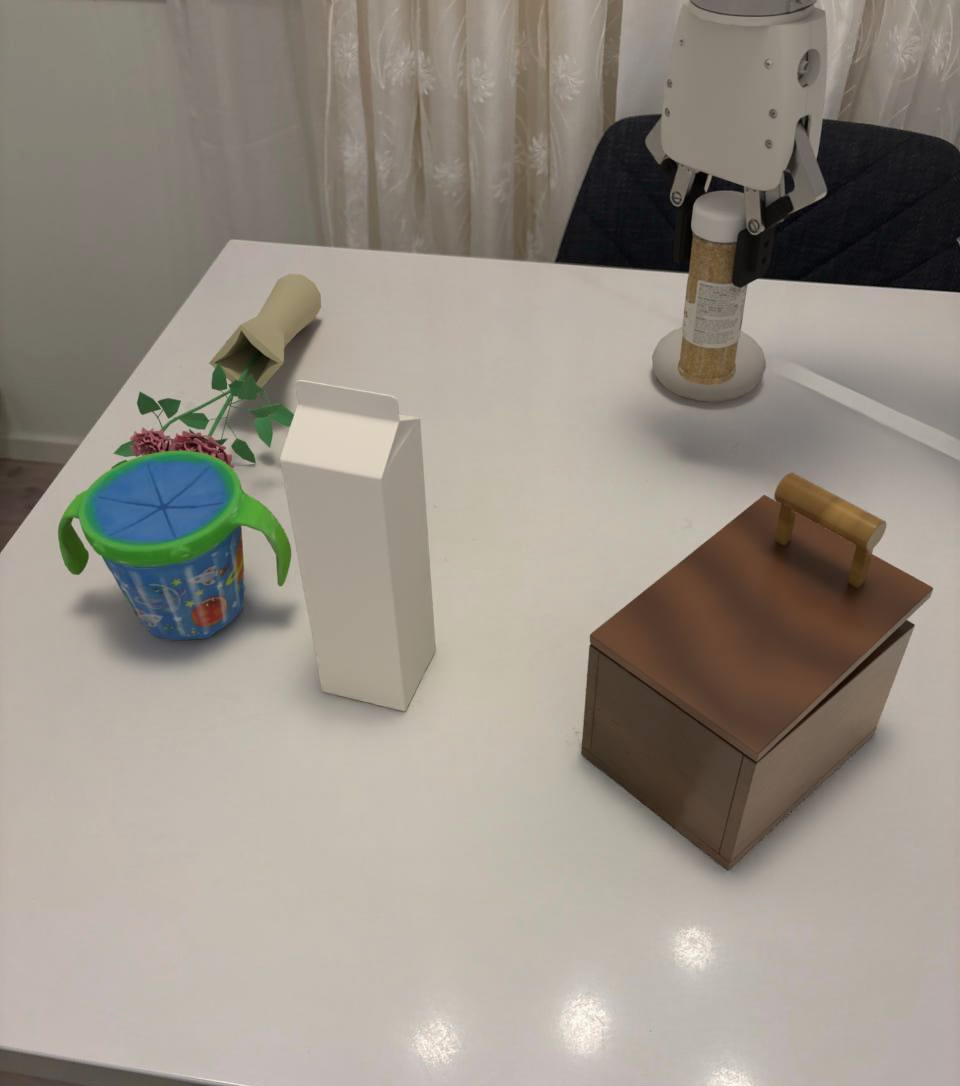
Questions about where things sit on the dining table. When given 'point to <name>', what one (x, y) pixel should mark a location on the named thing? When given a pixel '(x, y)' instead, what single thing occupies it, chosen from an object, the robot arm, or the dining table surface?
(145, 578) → the snack cup
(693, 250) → the sprinkles bottle
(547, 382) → the dining table surface
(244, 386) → the flower vase
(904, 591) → the lid
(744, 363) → the donut
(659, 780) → the chest
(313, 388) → the milk
